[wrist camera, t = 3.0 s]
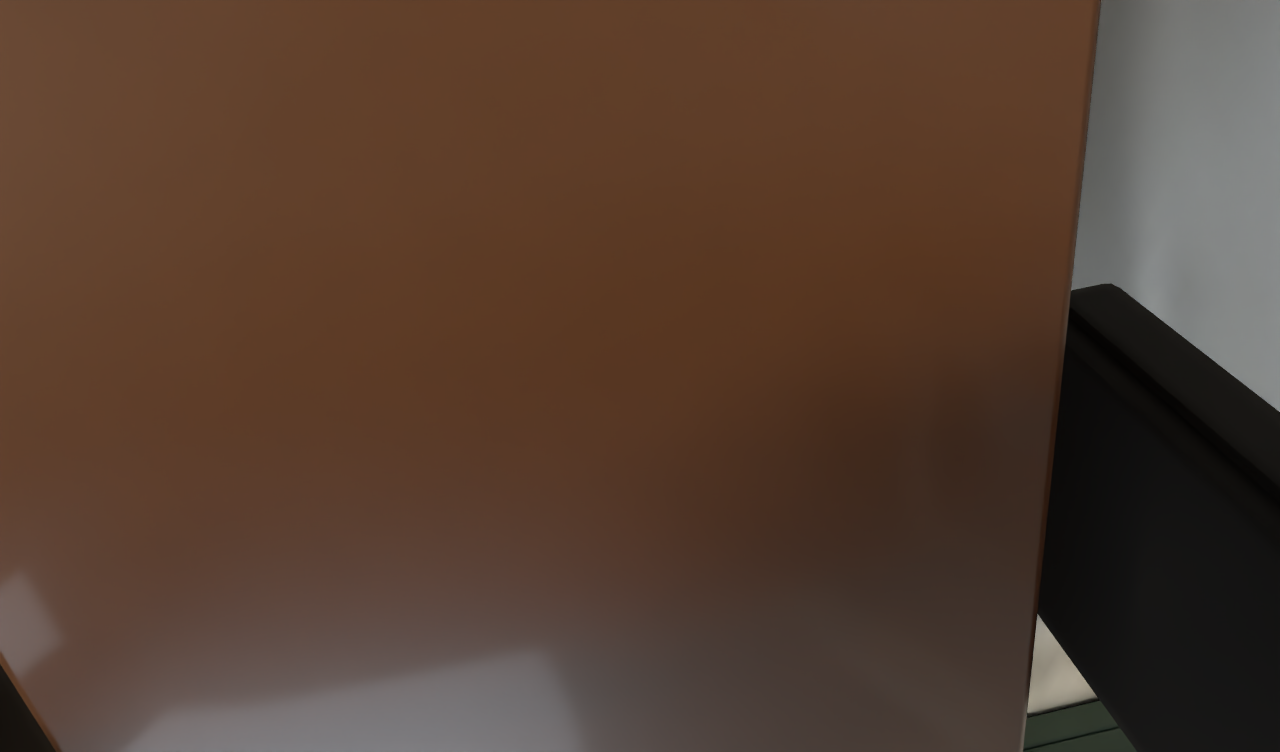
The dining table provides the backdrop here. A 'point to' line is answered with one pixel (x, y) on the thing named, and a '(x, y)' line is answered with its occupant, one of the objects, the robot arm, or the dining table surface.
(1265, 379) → the dining table surface
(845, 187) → the walnut box
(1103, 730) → the tray
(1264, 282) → the dining table surface
